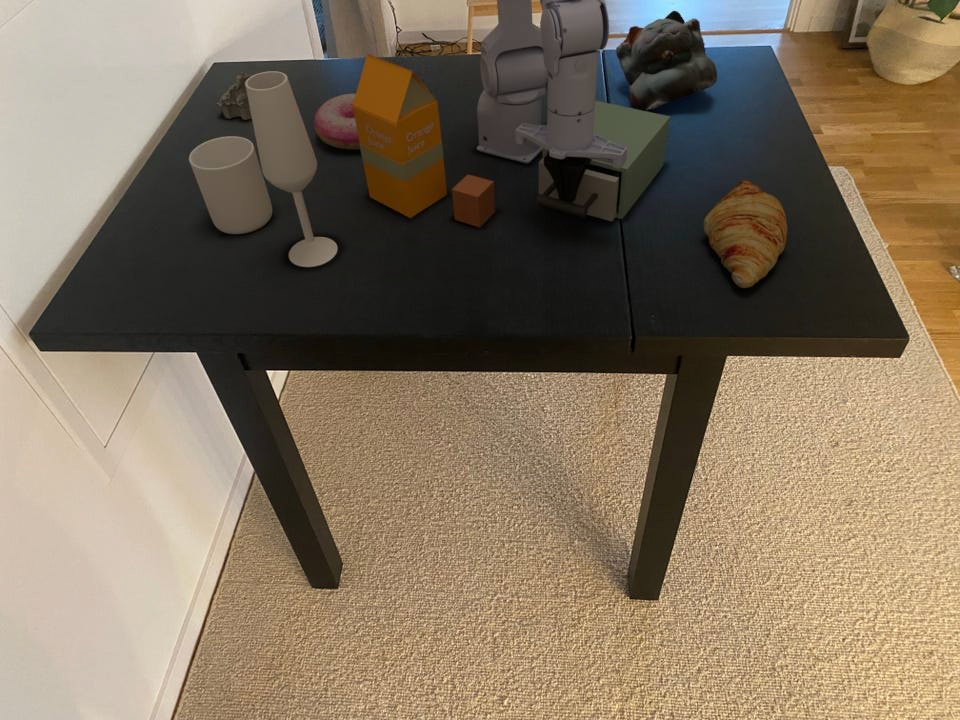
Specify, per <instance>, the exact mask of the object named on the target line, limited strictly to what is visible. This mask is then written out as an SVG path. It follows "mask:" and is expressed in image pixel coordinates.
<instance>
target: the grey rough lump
mask: <svg viewBox="0 0 960 720" xmlns="http://www.w3.org/2000/svg"><path fill="white" fill-rule="evenodd" d="M251 76H253V75H252V74H247V73H245V71H244V70H243V71H241V72H240V73H238V74H237V75H236V76H235V78H234V79H233V84H232V85H230V86H229V87H228V89H227V91H226V92H225V93H223V94H222V96H221V97H220V100H218V102H216V103H215V105H217V106H219V107H220V108H221V109H222V114H223V116H224V118H225V119H230V120H231V119H233V118H238V117H241V119H242V120H245V121H247V120H252V116H251V111H250V106H249V101H248V96H247V91H246V86H245V82H246V81H247V79H249V78H250V77H251Z"/></svg>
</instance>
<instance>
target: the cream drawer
mask: <svg viewBox="0 0 960 720" xmlns="http://www.w3.org/2000/svg"><path fill="white" fill-rule="evenodd" d="M543 159H544V158H543V157H542V159H540V161H539V162H538V194H537V195H536V197H535V205H537V206H538V205H539V206H542V207H545V208H549V209H552V210H555V211H559V212H562V213H566V214H569V215H574V216H577V217H580V218H585V217H587V216H591V217H595V218H597V219H601V220H605V221H607V222H608V221H609V222H613V221H614V220H615V218H616V217H615V216H616V208H617V207H618V205H619V200H620V189H621V179H622V172H619V171H615V170H611V169H607V168H603V167H599V166H595V165H591V164H589V165H588V167H587V169H586V171H585V173H584V175H583V177H582V179H581V182H580V185H579V188H578V191H577V195H576V199H575V200H574V202H573V203H571V202H567V201H564V200H560V199H559V196H558V192H557V189H556V186H555V183H554V181H553V179H552V177H551V175H550V173H549V171H548V170H547V169H546V167H545V166H544V162H543Z"/></svg>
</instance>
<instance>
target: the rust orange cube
mask: <svg viewBox="0 0 960 720" xmlns="http://www.w3.org/2000/svg"><path fill="white" fill-rule="evenodd" d="M451 195H452V204H453V216H454V220H455V221H457V222H461V223H463V224H466V225H471V226H474V227H477V228H481V227H483V225H484V224H486V222H488V220H489V219H490V218H491V217H492V216H493V215H494V214H495V213H496V200H495V199H496V198H495V181H493V180H489V179H487V178H483V177H479V176H476V175H472V174H469V173H468V174H467V175H465V176H464V177H463V178H462V179H461V180H460V181H459V182H458V183H457V184H456V185H454V187H453V188H451Z"/></svg>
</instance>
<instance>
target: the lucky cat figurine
mask: <svg viewBox="0 0 960 720" xmlns="http://www.w3.org/2000/svg"><path fill="white" fill-rule="evenodd" d="M700 24H701V23H700V21H699V19H697V18H691V19H689V20H687V21H685V20H684V18H683V17H682V15H681V13H680V12H679V11H678V10H672V11H671V12H670V13H669V14H667V15H666V16H665V17H664V18H658V19H655V20H654V21H653V22H650V23H648V24H646V25H645V26H644V27H639V26H638V25H634V26H630V27H629V29H628V34H627V35H626V38H625V39H624V40H623V41H622V42H621V43H620V44H619V45H618V46H617V47H616V48H615V52H616V57H617V59H618V61H619V65H620V69H621V70H622V72H623V75H624V78H625V80H626V82H627V86H628V89H629V92H630V97H629V98H630V102H631V104H632V106H633V107H635V109H637V110H642V111H647V112H648V111H651V110H654V109H657V108H660V107H662V106H664V105H666V104H667V105H668V104H670V103H672V102H674V101H678V100H680V99H683V98H686V97H692V96H694V95H695V94H698V93H700V92H701V91H704V90H707V89H709V88H711V87H713V86H714V85H715V84H716V83H717V82H718V70H717V67H716V64H715V62H714V61H713V60H712V59H711V58H709V57H708V56H707V54H706V47H705V42H704V38H703V35H702V32H701V25H700Z"/></svg>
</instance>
